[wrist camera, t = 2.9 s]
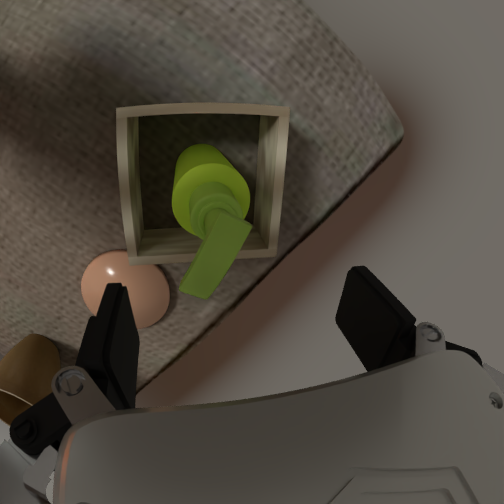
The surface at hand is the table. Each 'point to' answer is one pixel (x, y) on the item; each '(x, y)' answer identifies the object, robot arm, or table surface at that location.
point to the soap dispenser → (210, 214)
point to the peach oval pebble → (127, 285)
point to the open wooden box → (178, 239)
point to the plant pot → (26, 375)
